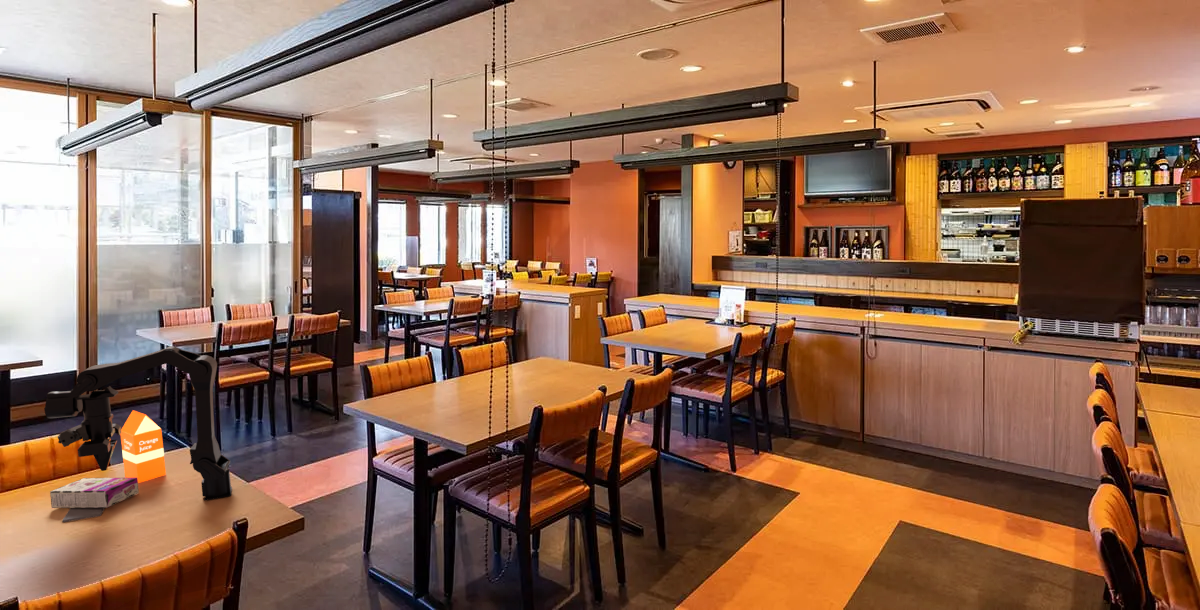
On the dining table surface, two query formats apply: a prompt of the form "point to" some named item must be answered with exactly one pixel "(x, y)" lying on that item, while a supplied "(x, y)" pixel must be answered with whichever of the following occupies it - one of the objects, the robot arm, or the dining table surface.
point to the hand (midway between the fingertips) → (104, 470)
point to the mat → (82, 513)
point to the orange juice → (142, 448)
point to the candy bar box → (94, 492)
